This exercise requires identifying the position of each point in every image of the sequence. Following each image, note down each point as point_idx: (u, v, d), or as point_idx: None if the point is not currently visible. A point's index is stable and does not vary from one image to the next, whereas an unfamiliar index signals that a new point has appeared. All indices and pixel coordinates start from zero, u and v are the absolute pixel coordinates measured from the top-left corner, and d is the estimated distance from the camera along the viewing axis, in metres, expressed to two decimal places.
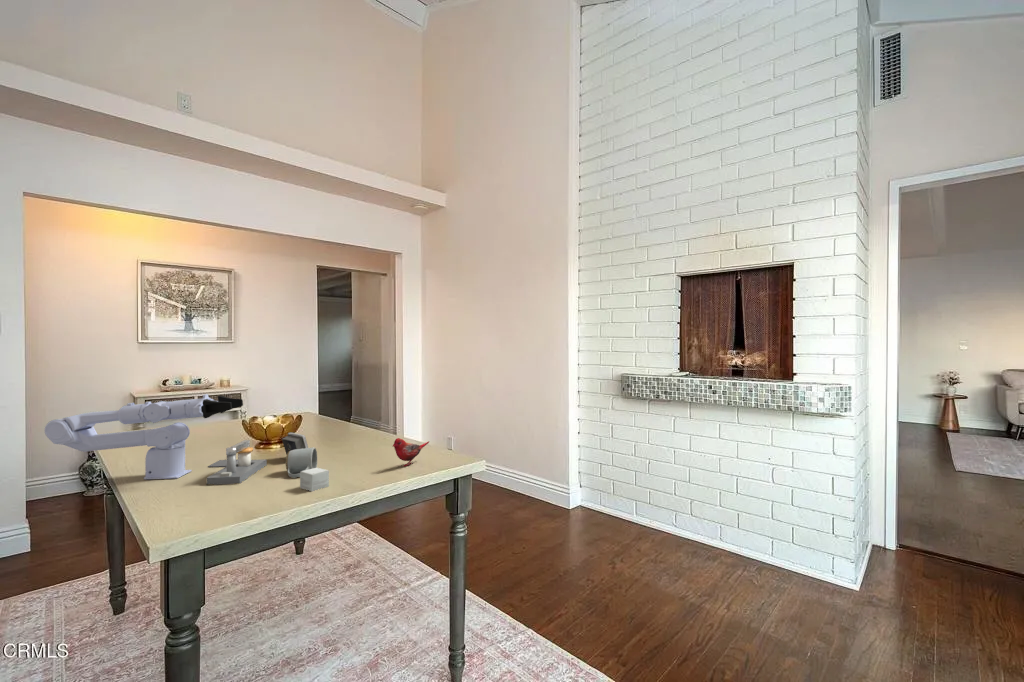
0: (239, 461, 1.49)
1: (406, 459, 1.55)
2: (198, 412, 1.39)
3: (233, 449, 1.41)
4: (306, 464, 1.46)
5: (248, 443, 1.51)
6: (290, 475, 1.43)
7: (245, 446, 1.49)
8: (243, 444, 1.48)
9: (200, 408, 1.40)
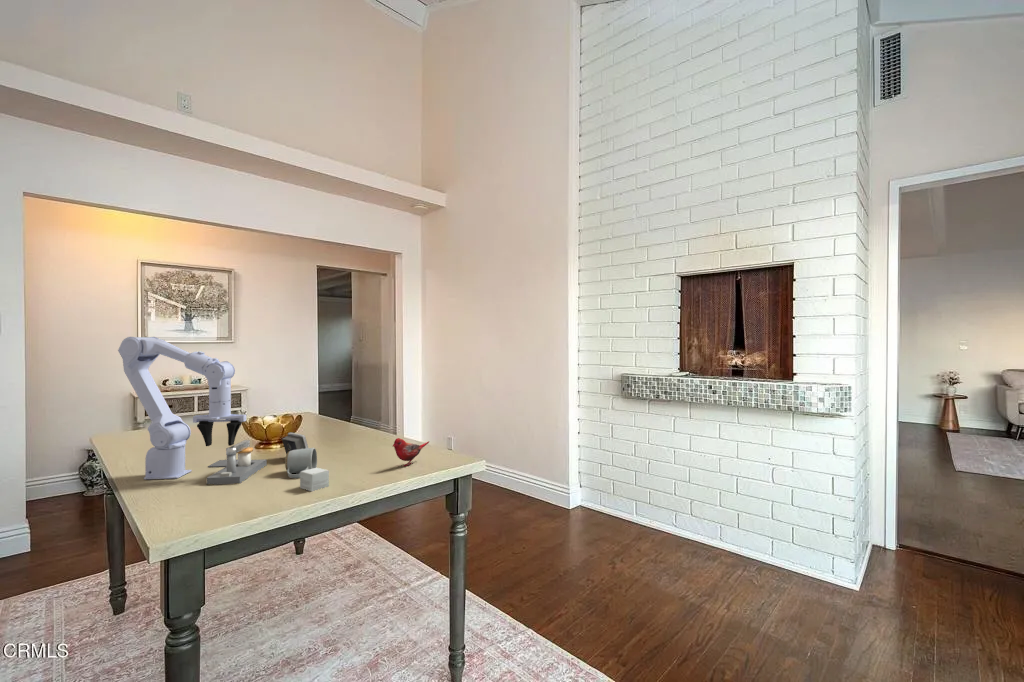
0: (239, 461, 1.49)
1: (406, 459, 1.55)
2: None
3: (233, 449, 1.41)
4: (306, 464, 1.45)
5: (248, 443, 1.51)
6: (290, 475, 1.42)
7: (245, 446, 1.49)
8: (243, 444, 1.48)
9: None
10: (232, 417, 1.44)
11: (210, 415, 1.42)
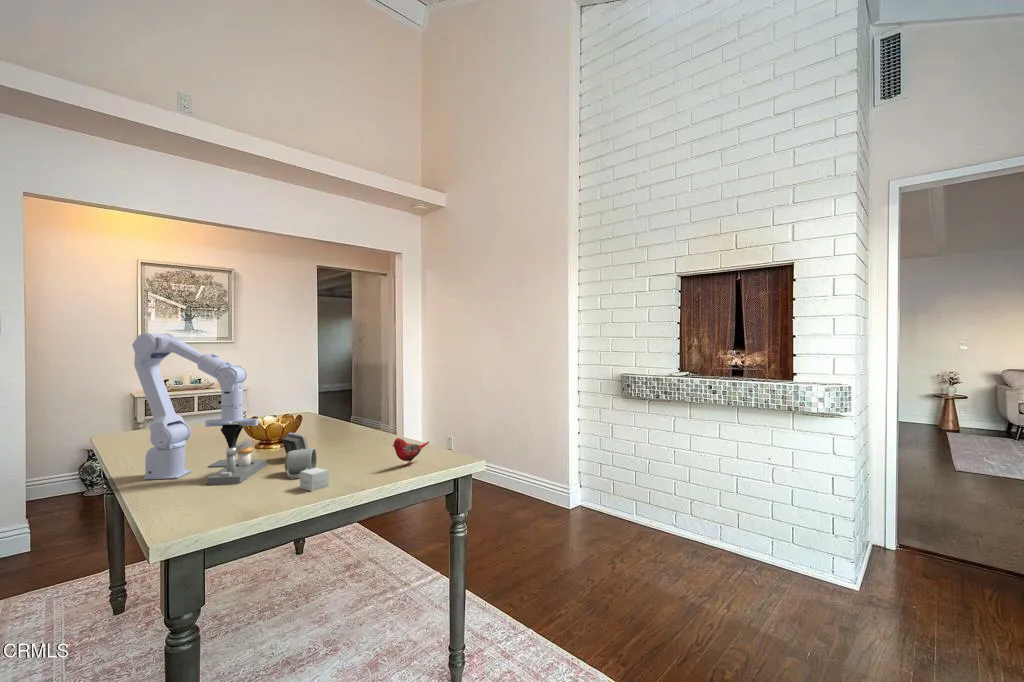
0: (239, 461, 1.49)
1: (406, 459, 1.55)
2: None
3: (233, 449, 1.41)
4: (305, 465, 1.45)
5: (248, 443, 1.51)
6: (289, 476, 1.42)
7: (245, 446, 1.49)
8: (243, 444, 1.48)
9: None
10: (244, 421, 1.44)
11: (222, 419, 1.43)
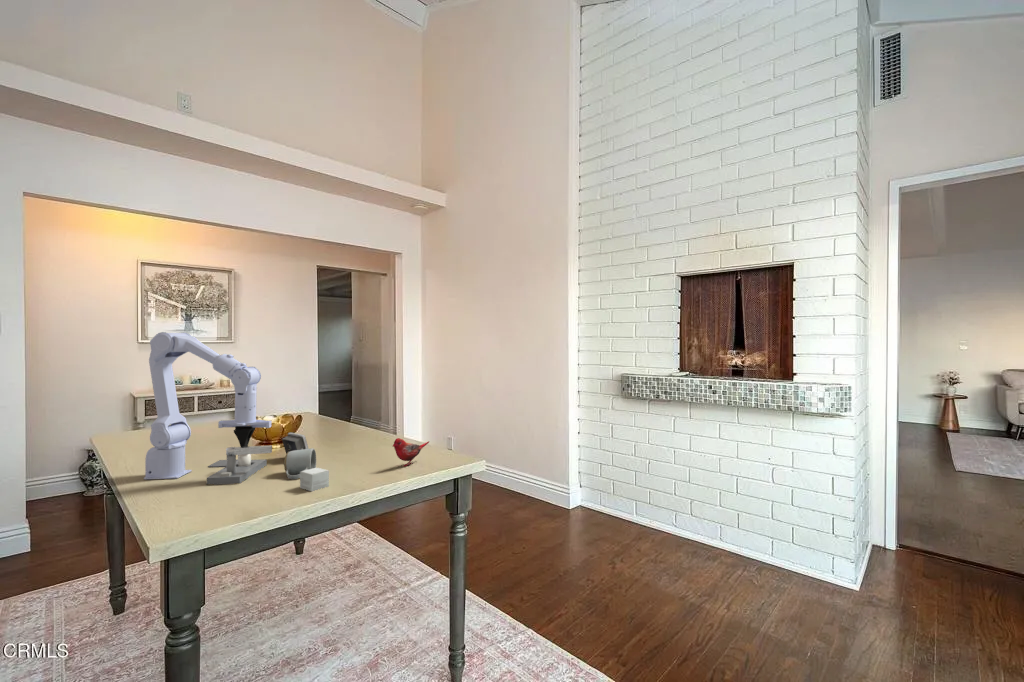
0: (239, 461, 1.49)
1: (406, 459, 1.55)
2: None
3: (227, 449, 1.40)
4: (305, 465, 1.44)
5: (267, 449, 1.43)
6: (289, 476, 1.41)
7: (259, 451, 1.42)
8: (254, 448, 1.42)
9: None
10: (258, 423, 1.43)
11: (236, 421, 1.41)
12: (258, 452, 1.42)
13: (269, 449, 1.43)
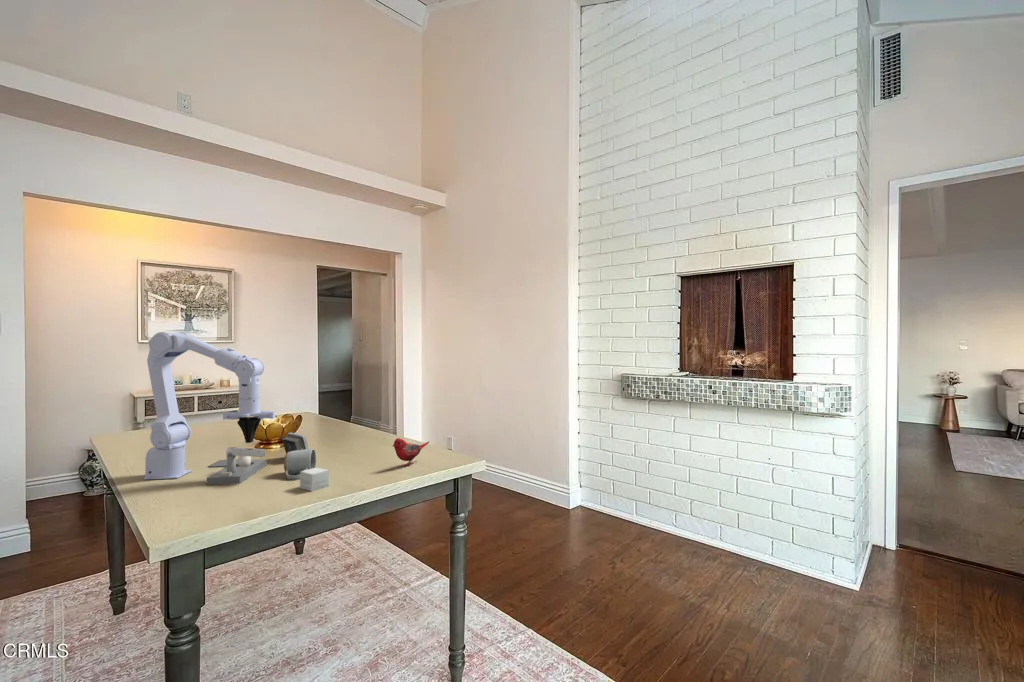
0: (239, 461, 1.49)
1: (406, 459, 1.55)
2: None
3: None
4: (305, 465, 1.44)
5: (258, 453, 1.38)
6: (288, 477, 1.41)
7: (251, 454, 1.39)
8: (247, 451, 1.39)
9: None
10: (262, 414, 1.44)
11: (240, 412, 1.42)
12: (251, 455, 1.39)
13: (260, 453, 1.38)
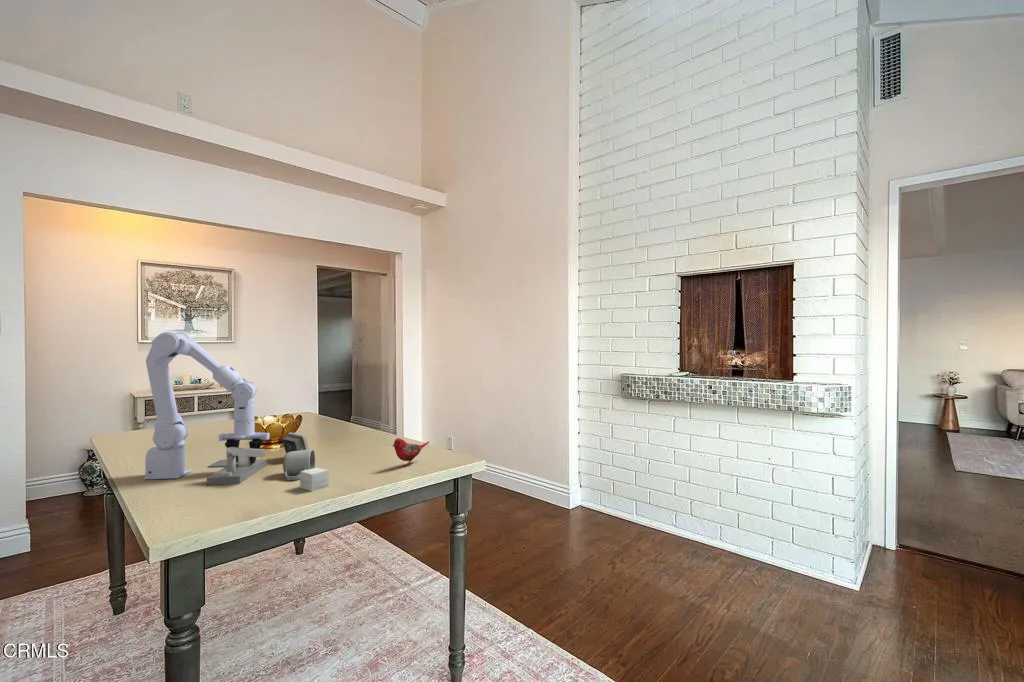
0: (239, 461, 1.49)
1: (406, 459, 1.55)
2: None
3: None
4: (304, 466, 1.43)
5: (258, 453, 1.38)
6: (287, 477, 1.40)
7: (251, 454, 1.39)
8: (247, 451, 1.39)
9: None
10: (256, 435, 1.49)
11: (235, 434, 1.48)
12: (251, 455, 1.39)
13: (260, 453, 1.38)
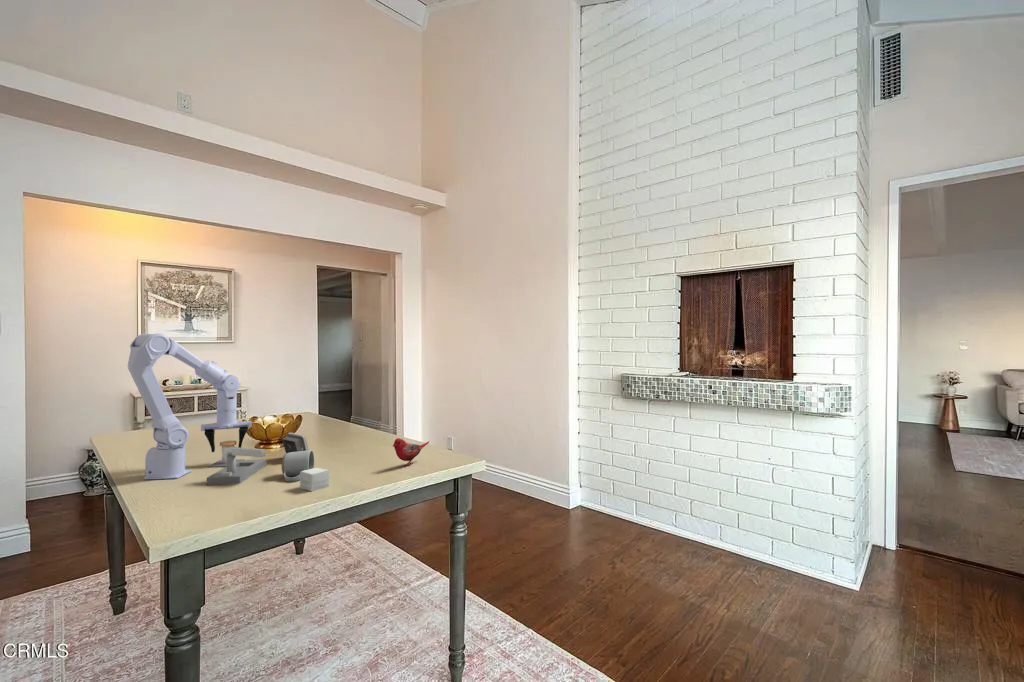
0: (225, 454, 1.56)
1: (406, 459, 1.55)
2: None
3: None
4: (303, 467, 1.42)
5: (258, 453, 1.38)
6: (286, 478, 1.39)
7: (251, 454, 1.39)
8: (247, 451, 1.39)
9: None
10: (241, 424, 1.59)
11: (220, 423, 1.56)
12: (251, 455, 1.39)
13: (260, 453, 1.38)
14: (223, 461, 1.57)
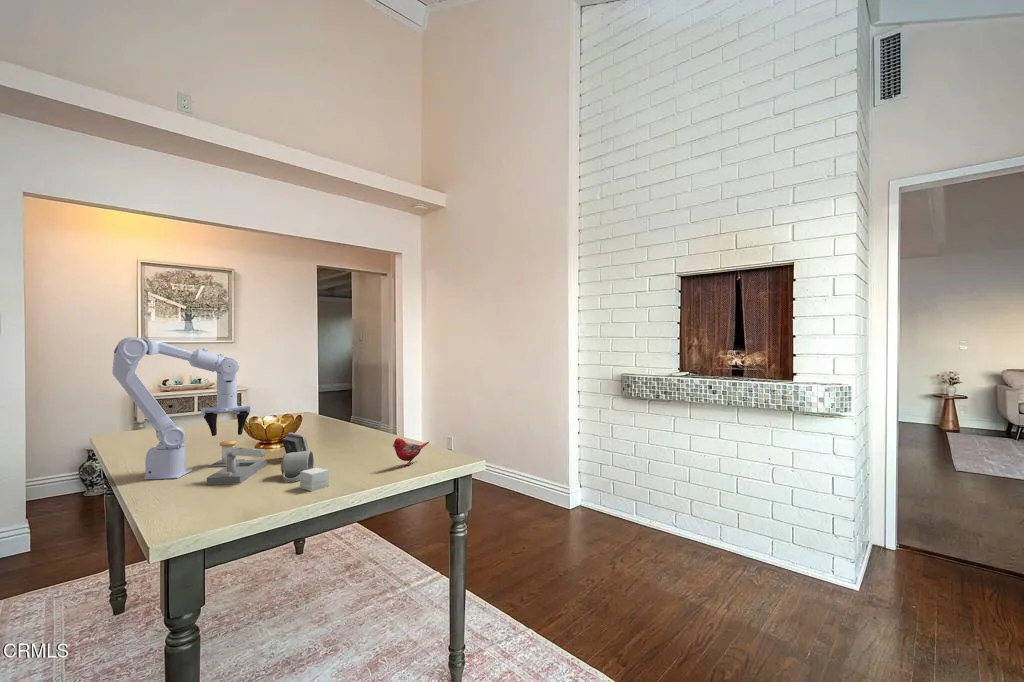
0: (225, 454, 1.56)
1: (406, 459, 1.55)
2: None
3: None
4: (302, 468, 1.41)
5: (258, 453, 1.38)
6: (285, 479, 1.38)
7: (251, 454, 1.39)
8: (247, 451, 1.39)
9: None
10: (239, 408, 1.55)
11: (218, 407, 1.53)
12: (251, 455, 1.39)
13: (260, 453, 1.38)
14: (223, 461, 1.57)
